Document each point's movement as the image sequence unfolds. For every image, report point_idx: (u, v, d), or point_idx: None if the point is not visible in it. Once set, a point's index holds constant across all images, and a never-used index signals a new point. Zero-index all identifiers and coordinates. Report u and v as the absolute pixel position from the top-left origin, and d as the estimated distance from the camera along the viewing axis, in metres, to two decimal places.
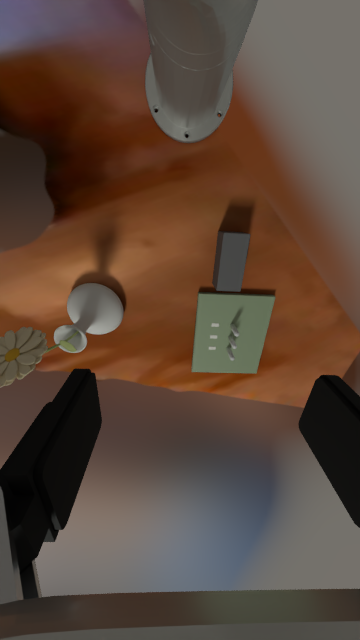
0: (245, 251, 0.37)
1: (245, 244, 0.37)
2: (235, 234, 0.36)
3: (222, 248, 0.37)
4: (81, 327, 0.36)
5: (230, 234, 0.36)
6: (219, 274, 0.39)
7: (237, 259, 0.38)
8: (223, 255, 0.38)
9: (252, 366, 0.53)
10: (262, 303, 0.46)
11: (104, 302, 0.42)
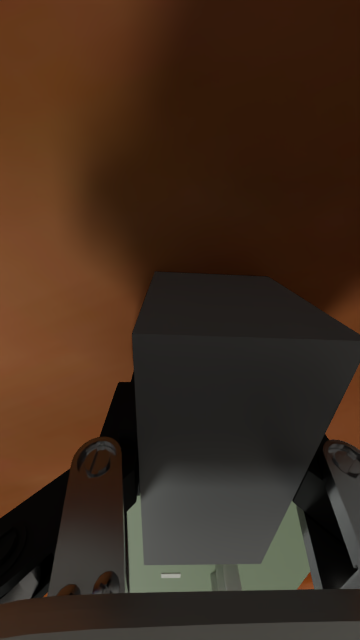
0: (308, 439, 0.05)
1: (314, 405, 0.05)
2: (239, 344, 0.04)
3: (143, 425, 0.05)
4: None
5: (194, 345, 0.04)
6: (147, 524, 0.07)
7: (250, 474, 0.06)
8: (156, 459, 0.06)
9: None
10: None
11: None
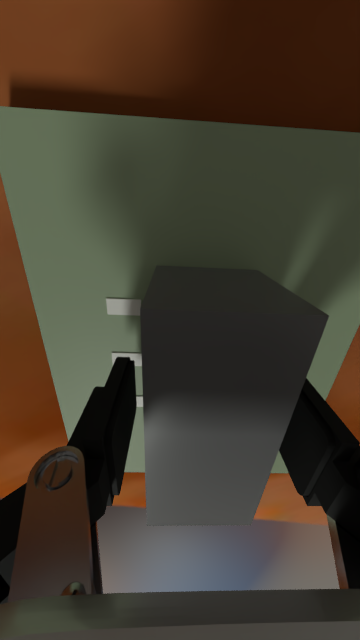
0: (285, 402, 0.06)
1: (288, 371, 0.06)
2: (224, 318, 0.05)
3: None
4: None
5: (189, 318, 0.05)
6: (150, 483, 0.08)
7: (238, 435, 0.07)
8: (158, 420, 0.07)
9: (280, 456, 0.15)
10: None
11: None
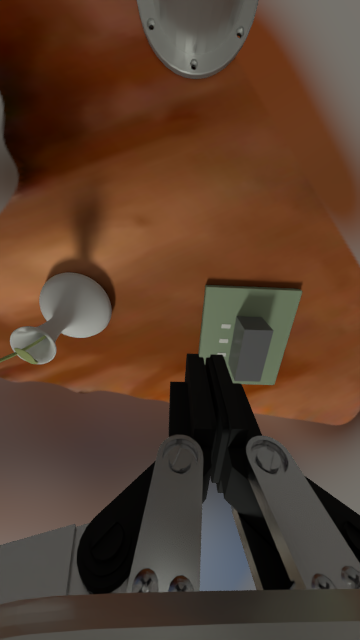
0: (267, 346, 0.34)
1: (267, 339, 0.34)
2: (257, 331, 0.33)
3: (242, 343, 0.34)
4: (50, 329, 0.26)
5: (251, 331, 0.33)
6: (238, 366, 0.36)
7: (258, 353, 0.35)
8: (243, 349, 0.35)
9: (269, 376, 0.44)
10: (285, 299, 0.36)
11: (85, 297, 0.33)
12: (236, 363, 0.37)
